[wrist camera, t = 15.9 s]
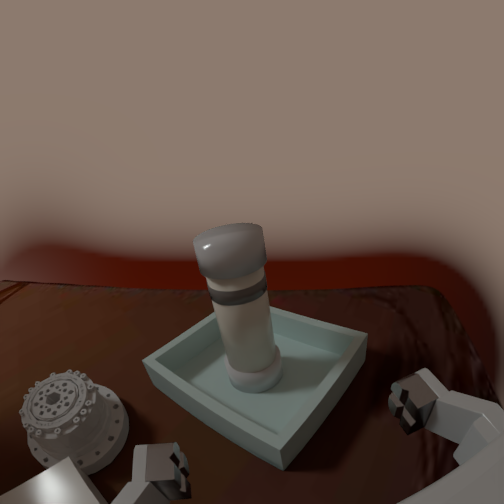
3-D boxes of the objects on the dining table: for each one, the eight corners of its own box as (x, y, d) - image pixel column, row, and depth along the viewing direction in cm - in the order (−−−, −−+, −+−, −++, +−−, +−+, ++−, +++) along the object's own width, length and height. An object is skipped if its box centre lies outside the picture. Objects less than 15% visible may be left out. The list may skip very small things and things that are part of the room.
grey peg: (221, 388, 22) (180, 248, 18) (240, 353, 26) (212, 224, 22) (274, 396, 21) (248, 247, 16) (288, 358, 25) (270, 221, 20)
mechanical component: (19, 451, 15) (97, 498, 13) (-10, 419, 14) (62, 468, 11) (71, 384, 24) (149, 405, 22) (51, 351, 23) (129, 369, 20)
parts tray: (153, 384, 24) (142, 360, 23) (241, 319, 32) (237, 296, 31) (283, 471, 15) (279, 450, 14) (365, 360, 23) (367, 333, 22)
